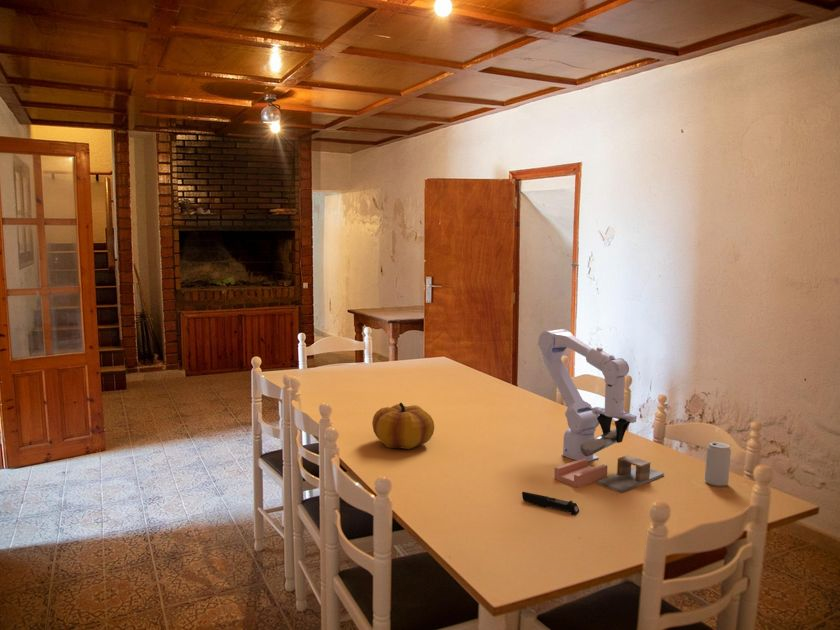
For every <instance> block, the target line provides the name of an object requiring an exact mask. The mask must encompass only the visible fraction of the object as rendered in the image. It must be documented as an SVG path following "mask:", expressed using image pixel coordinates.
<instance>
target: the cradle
mask: <svg viewBox="0 0 840 630" xmlns="http://www.w3.org/2000/svg"><path fill="white" fill-rule="evenodd" d="M607 477H608V465H607V464H600V465H598V466H594V467H593V466H590V465H589V462H588V459H586V458H582V459H579V460H573V461H571V462H567V463H564V464H561V465H558V466H555V467H554V477H553V479H554V480H557V481H559V482H562V483H564V484H567V485H570V486H572V487H575V488H581V487H584V486H586V485H589V484H591V483H594V482H597V481H599V480H601V479H604V478H607Z"/></svg>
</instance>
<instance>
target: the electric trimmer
mask: <svg viewBox="0 0 840 630" xmlns="http://www.w3.org/2000/svg"><path fill="white" fill-rule="evenodd" d="M521 496H522V500H523V501H524V502H527V503H530V504H533V505H535V506H538V507H541V508H551V509H554V510H557V511H558V510H559V511H561V512H562V511H563V512H566V513H570V514H571V515H573V516H577V515H578V514H579V512H580V508H579V506H578V505H577V503H576V502H573V500H568V501H566V500H564V499H563V500H562V499H558V498H555V497H549V496H547V495H542V494H537V493H532V492H528V491H522V492H521Z"/></svg>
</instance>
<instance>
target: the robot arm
mask: <svg viewBox="0 0 840 630" xmlns="http://www.w3.org/2000/svg"><path fill="white" fill-rule="evenodd" d="M537 345H538V346H539V349H540V351H541V354H542V359H543V362H544V364H545V366H546V368H547V370H548V372H549V375H550V376H551V379H552V380H553V382H554V383H555V386H556V387H557V389H558V392H559V394H560V395H561V397H562V399H563V401H564V403H565V405H566V407H567V408H566V411H565V412H564V413H565V414H564V415H565V417H566V420H567V426H568V428H567V429H566V430H565V432H564V435H563V445H562V449H563V450H562V451H563V452H562V453H561V456H563V457H567V458H568V459H572V460H573V461H576V460H579V459H582V458H586V459H588V463H589V462H592V461H594V460H597V459H599V458H600V457H599V456H598V455H596V454H592V455H590V456H585V455H583V454H582V452H581V450H580V447H581V445H582V444H583V443H585V442H587V441H589V440H592V439H594V438H595V433H596V428H597V427H598V426H599V425H600V427H601V428H600V429H601V431H602V434H604V433H607V432H609V431H611V427H612V421H613V419H616V420H614V424H615V429H616V441H617V443H618V444H620V443H622V442H623V440H624V436H625V434H626V431H627V429H628V427H629V425H630V424H631V423H632V424H634V423H637V417H638V416H637V415H634V414H632V413H629V412H626V411H625V387H626V385H625V381H626V376H627V375H628V374H629V372H630V366H629V364H628V361H626V360H625V359H624V358H622V357H620V358H619V357H618V358H616V357H615V356H614V355H613V354H609V353H607V352H606V351H604V349H603V347H600V346H598V347H596V346H595V347H591V346H589V345H588V344H586V343H584V342H583V341H582V340H580V339H579V338H577V337H576V336H574V335H573V333H572V332H570V331H569V330H567V329H565V328H560V329H554V330H543V331H542V332H540V335H539V337H538V341H537ZM567 349H570V351H571V350H572V351H574V352H575V353H577V354H579V355H581V356H582V357H585V360H586V362H587V364H589V365H591V366H593V367H594V368H596V369H597V370H598V371H600V372H602V375H603V377H604V384H605V386H604V387H605V389H604V393H605V394H604V407H599V406H593V407H592V405H591V404H590V403H588V401H585V400H584V399H583V398H582V396H581V394H580V392H579V391H578V389H577V387H576V384H575V383H574V381H573V379H572V377H571V375H570V373H569V371H568V370H567V368H566V366H565V364H564V362H563V360H562V357H563V355H564V354H565V352H566V350H567ZM617 443H616V444H617Z"/></svg>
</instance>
